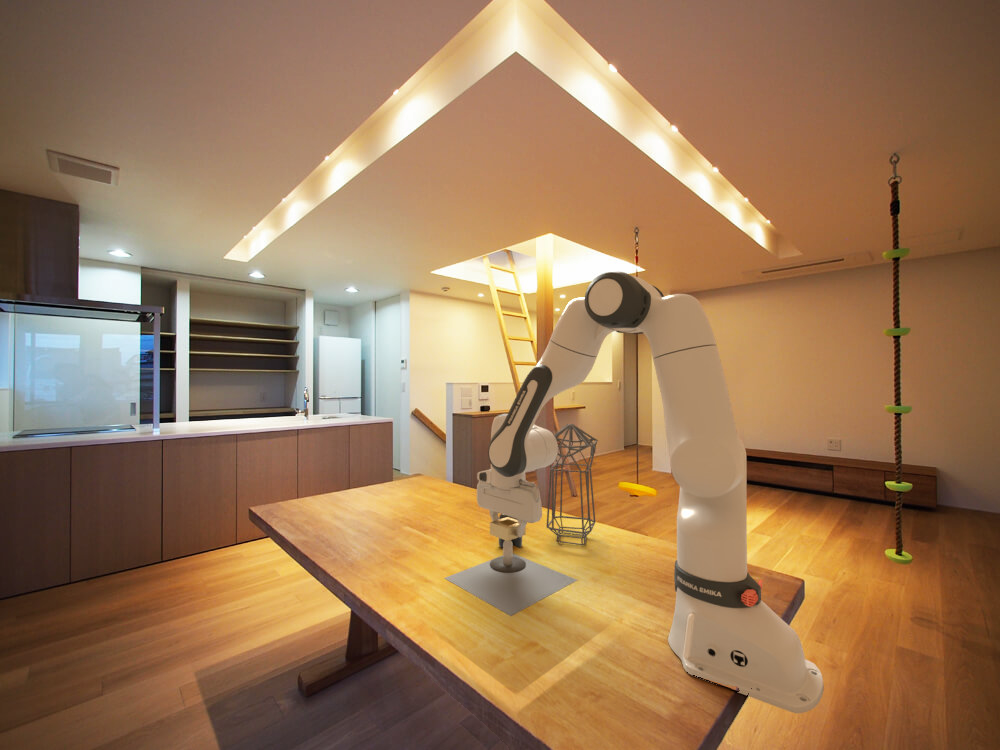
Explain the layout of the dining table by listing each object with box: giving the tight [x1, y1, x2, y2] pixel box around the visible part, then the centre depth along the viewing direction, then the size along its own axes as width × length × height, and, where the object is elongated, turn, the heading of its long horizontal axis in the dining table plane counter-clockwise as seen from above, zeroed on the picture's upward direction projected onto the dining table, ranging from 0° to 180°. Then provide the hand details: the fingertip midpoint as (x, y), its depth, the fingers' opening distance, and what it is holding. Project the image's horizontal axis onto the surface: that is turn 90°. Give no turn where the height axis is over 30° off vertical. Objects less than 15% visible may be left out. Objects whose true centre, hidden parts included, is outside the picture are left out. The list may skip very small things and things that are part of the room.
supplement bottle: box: [498, 513, 523, 549], centre depth 120 cm, size 7×7×12 cm
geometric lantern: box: [546, 423, 599, 546], centre depth 126 cm, size 16×16×35 cm
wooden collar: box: [489, 517, 527, 541], centre depth 104 cm, size 6×6×3 cm
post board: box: [444, 540, 578, 617], centre depth 96 cm, size 22×22×8 cm
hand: (507, 532), depth 104 cm, fingers closed on wooden collar, 6 cm apart
